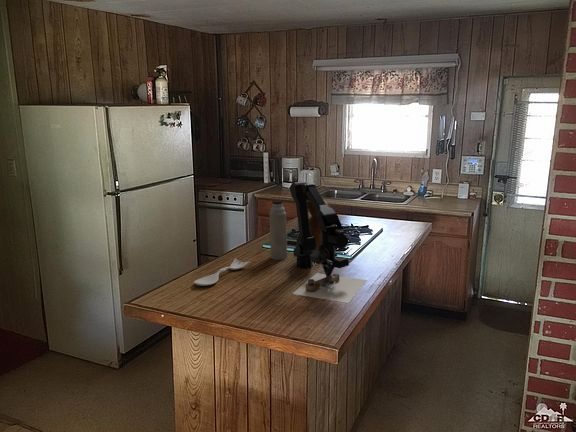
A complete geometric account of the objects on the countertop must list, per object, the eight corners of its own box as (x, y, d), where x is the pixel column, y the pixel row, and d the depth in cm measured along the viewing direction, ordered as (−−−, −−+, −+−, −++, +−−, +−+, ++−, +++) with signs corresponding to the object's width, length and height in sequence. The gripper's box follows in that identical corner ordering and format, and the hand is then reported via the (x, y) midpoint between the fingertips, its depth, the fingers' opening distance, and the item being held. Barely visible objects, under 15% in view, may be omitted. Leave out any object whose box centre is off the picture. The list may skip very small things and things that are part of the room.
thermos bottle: (274, 254, 243) (272, 199, 236) (289, 255, 240) (287, 199, 234) (268, 259, 236) (266, 202, 229) (284, 260, 233) (282, 203, 226)
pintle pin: (307, 284, 192) (307, 280, 192) (309, 282, 194) (309, 278, 194) (312, 285, 191) (312, 281, 191) (315, 283, 193) (315, 279, 193)
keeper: (317, 294, 189) (317, 286, 188) (325, 287, 196) (324, 279, 195) (330, 296, 187) (330, 287, 186) (337, 289, 194) (337, 281, 193)
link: (311, 292, 190) (311, 287, 190) (303, 289, 193) (303, 285, 193) (342, 279, 203) (342, 275, 202) (334, 277, 206) (334, 272, 206)
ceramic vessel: (343, 246, 252) (343, 189, 245) (322, 258, 235) (322, 197, 228) (316, 242, 261) (315, 187, 254) (295, 253, 243) (293, 194, 236)
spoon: (251, 267, 225) (251, 260, 224) (206, 290, 199) (205, 283, 198) (235, 264, 230) (235, 257, 229) (189, 287, 203) (188, 279, 202)
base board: (292, 295, 191) (292, 293, 191) (316, 274, 213) (316, 273, 212) (348, 304, 181) (348, 302, 181) (367, 282, 203) (367, 280, 203)
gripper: (298, 241, 202) (298, 276, 205) (330, 251, 188) (330, 289, 191) (318, 236, 209) (317, 270, 212) (350, 245, 195) (349, 282, 198)
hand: (327, 277), depth 203 cm, fingers closed
